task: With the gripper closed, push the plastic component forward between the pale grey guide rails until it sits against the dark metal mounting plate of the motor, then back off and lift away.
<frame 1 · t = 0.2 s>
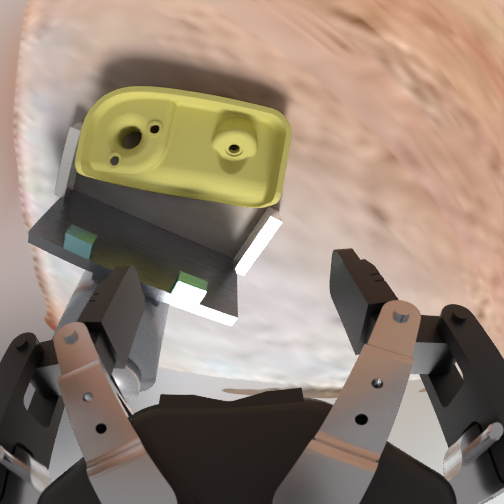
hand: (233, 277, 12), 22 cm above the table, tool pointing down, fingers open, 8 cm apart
plastic component: (190, 138, 29), on the table
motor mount: (139, 254, 37), on the table
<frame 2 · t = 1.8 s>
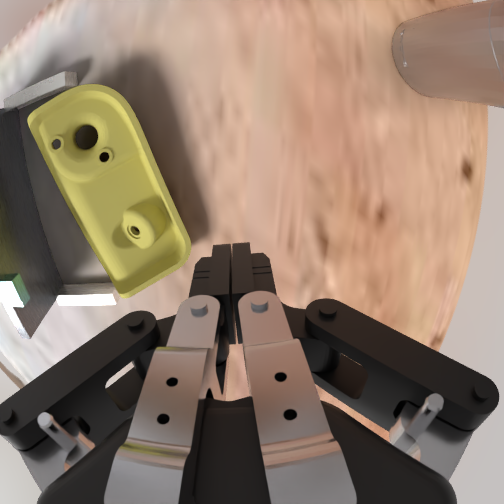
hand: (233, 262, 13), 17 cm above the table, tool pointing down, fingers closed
plastic component: (119, 182, 27), on the table
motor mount: (9, 209, 27), on the table
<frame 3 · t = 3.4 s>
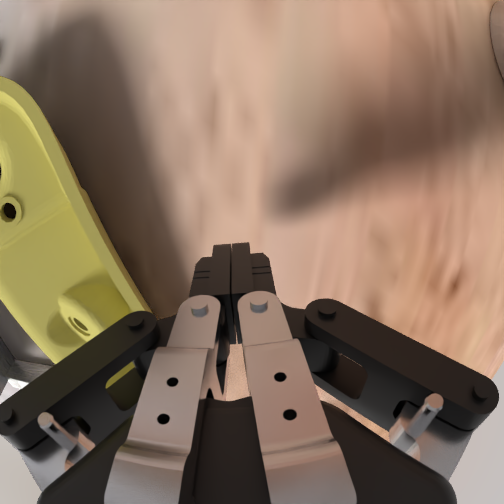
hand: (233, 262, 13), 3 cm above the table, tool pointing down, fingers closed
plastic component: (55, 239, 15), on the table
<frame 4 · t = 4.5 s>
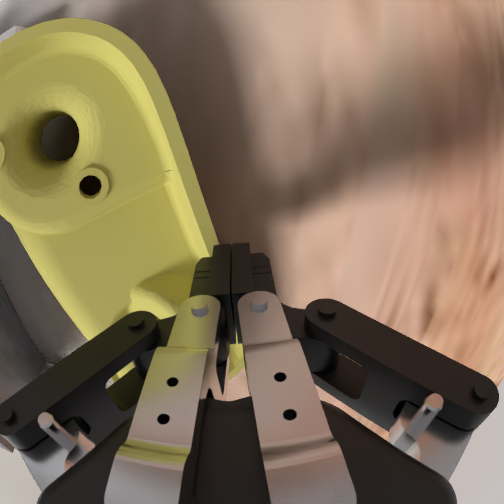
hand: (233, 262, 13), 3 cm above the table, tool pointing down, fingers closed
plastic component: (122, 225, 15), on the table, touching gripper
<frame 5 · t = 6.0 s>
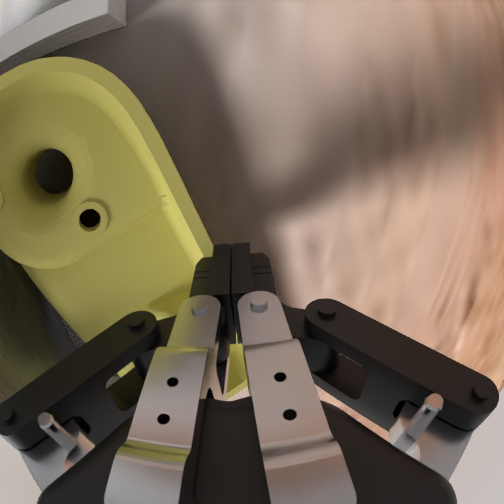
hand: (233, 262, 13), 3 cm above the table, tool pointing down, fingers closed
plastic component: (125, 249, 16), on the table, touching gripper, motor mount
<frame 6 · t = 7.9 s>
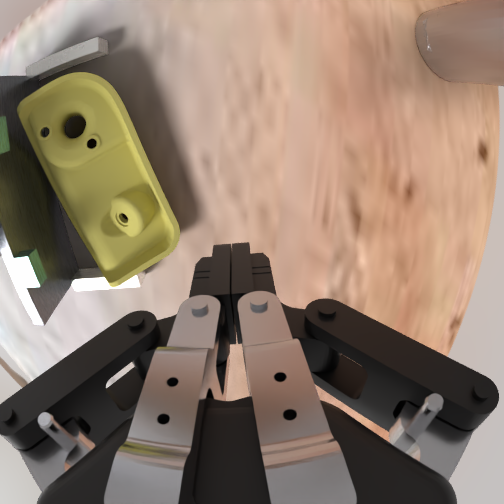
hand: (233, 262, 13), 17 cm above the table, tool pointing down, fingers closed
plastic component: (108, 171, 27), on the table
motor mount: (21, 187, 26), on the table
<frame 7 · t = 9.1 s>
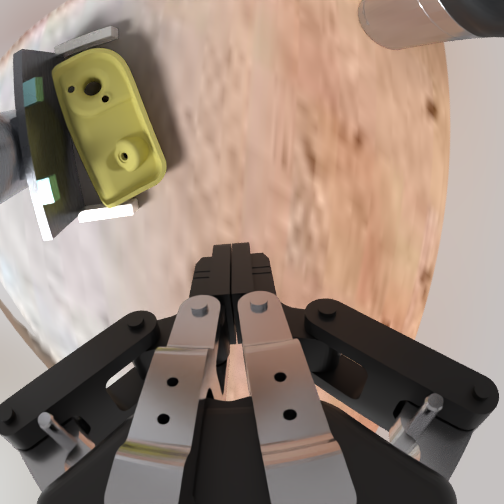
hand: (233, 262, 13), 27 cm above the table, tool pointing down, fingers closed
plastic component: (115, 123, 33), on the table
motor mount: (43, 140, 32), on the table
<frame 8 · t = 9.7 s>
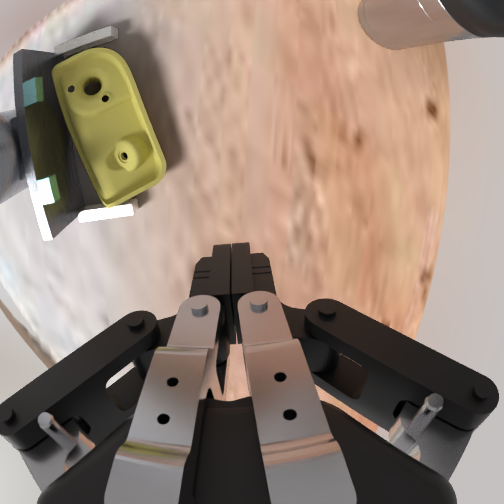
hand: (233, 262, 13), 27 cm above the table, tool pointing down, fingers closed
plastic component: (115, 123, 33), on the table
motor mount: (43, 140, 32), on the table
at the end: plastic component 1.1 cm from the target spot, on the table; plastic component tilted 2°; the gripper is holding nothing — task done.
